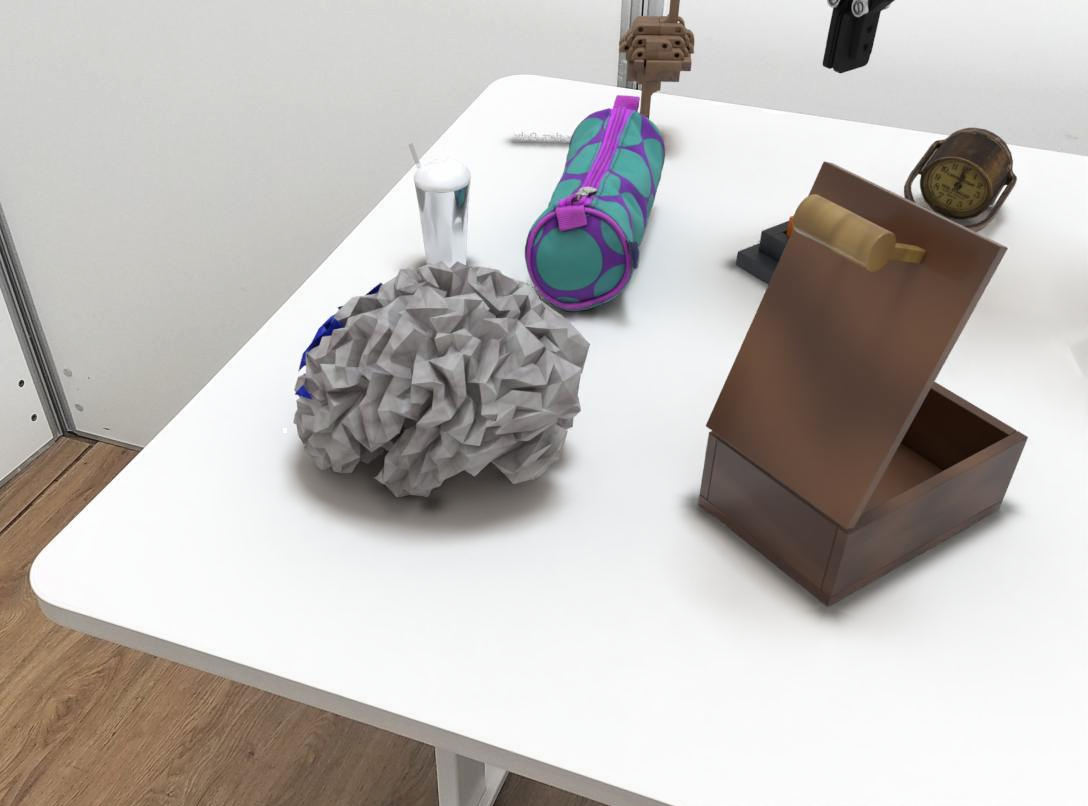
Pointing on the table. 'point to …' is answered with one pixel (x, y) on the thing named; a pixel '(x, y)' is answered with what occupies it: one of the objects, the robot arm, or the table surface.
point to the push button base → (765, 252)
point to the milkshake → (443, 208)
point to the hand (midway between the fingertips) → (844, 65)
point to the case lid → (850, 338)
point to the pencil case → (597, 209)
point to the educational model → (441, 379)
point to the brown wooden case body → (871, 499)
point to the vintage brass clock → (965, 175)
